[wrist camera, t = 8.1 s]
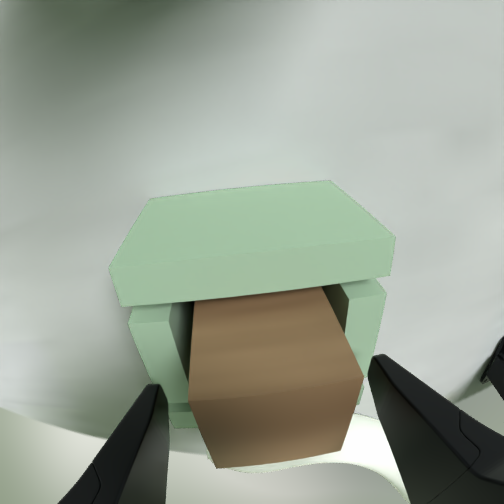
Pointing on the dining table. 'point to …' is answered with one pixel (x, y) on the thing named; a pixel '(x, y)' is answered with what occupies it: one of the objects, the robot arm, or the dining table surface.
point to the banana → (350, 453)
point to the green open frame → (247, 267)
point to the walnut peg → (271, 377)
